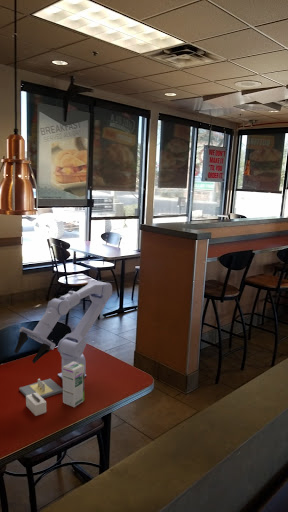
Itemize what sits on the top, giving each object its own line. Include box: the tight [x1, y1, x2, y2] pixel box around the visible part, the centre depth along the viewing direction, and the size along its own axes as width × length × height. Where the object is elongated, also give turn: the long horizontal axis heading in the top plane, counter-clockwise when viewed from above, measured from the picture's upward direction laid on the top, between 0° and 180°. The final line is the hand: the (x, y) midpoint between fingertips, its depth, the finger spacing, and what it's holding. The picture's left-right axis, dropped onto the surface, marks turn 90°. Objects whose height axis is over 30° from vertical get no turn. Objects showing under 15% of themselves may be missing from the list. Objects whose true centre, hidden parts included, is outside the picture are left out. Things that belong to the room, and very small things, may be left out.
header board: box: [19, 378, 63, 399], centre depth 154 cm, size 13×11×4 cm
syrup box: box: [61, 361, 85, 408], centre depth 146 cm, size 6×6×14 cm
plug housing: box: [25, 392, 47, 417], centre depth 141 cm, size 4×8×5 cm, turn 40°
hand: (24, 357), depth 144 cm, fingers open, 7 cm apart
